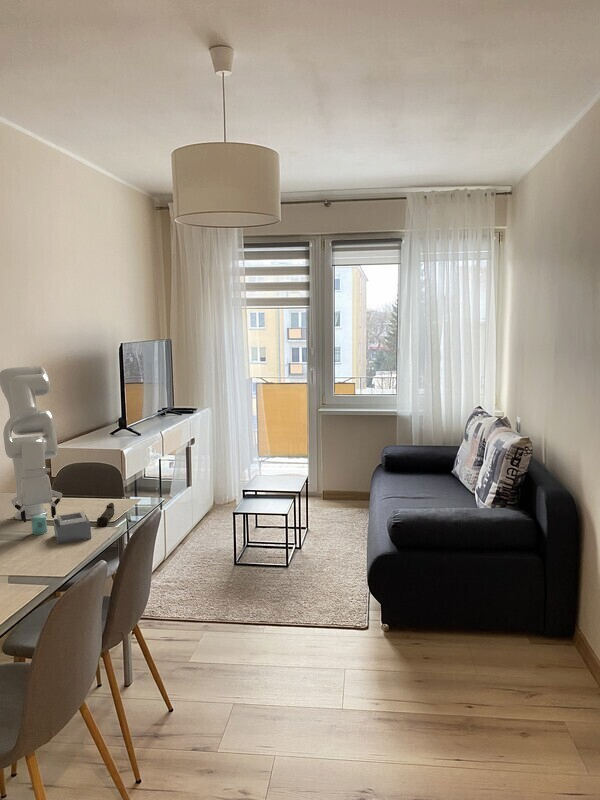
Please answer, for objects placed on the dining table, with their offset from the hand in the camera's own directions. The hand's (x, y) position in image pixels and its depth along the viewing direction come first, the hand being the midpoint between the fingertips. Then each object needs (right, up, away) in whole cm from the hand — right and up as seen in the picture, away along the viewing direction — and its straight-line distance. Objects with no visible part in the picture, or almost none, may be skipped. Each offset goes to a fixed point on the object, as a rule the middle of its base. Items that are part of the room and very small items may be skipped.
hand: (39, 519), depth 235 cm
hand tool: (+20, -3, +16) cm, 26 cm away
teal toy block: (0, -5, +1) cm, 5 cm away
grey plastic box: (+14, -5, -5) cm, 16 cm away
